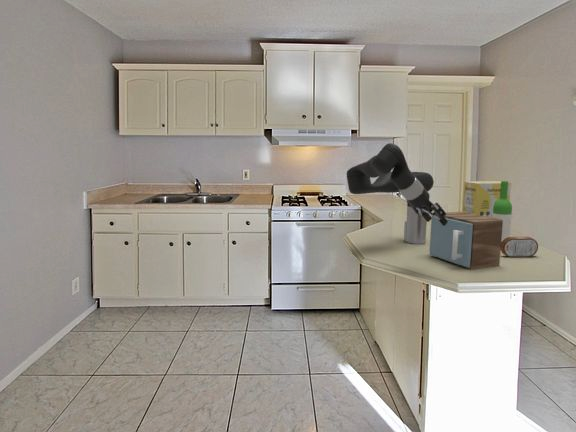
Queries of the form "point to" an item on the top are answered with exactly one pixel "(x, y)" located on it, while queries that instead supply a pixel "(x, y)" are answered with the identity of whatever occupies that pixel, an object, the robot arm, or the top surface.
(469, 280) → the top surface
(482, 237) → the cabinet
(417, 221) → the robot arm
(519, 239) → the tin
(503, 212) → the wine bottle
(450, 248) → the door
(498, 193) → the pasta box
